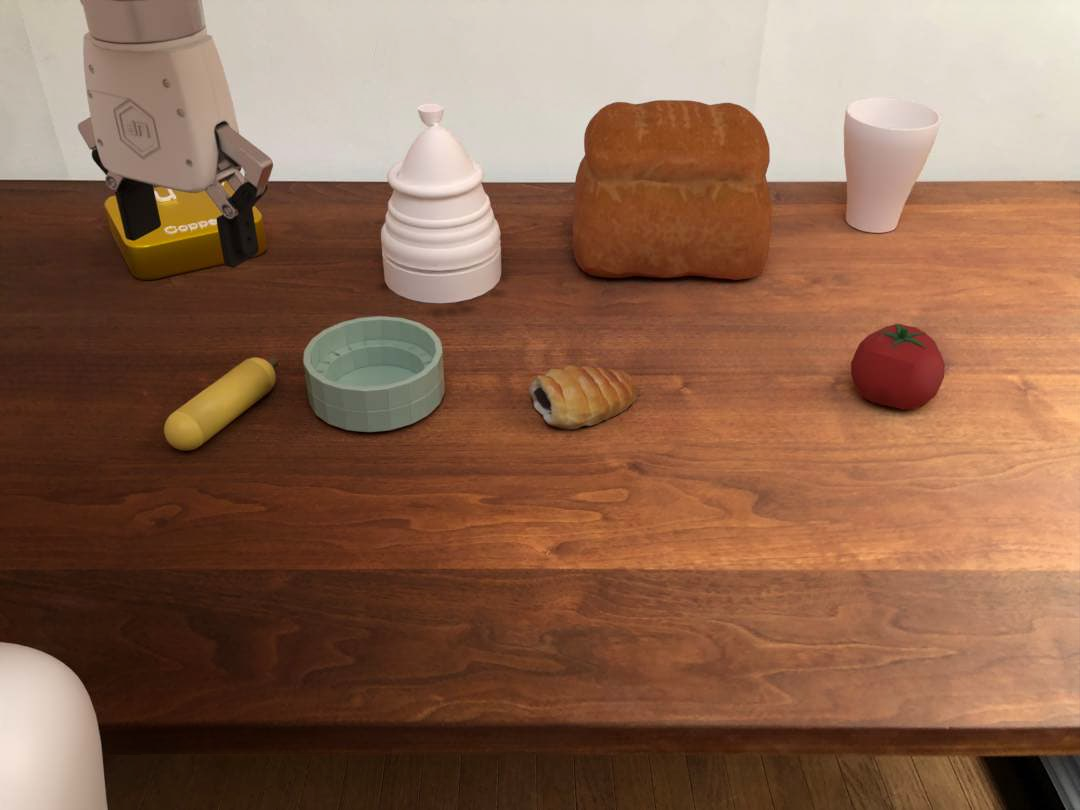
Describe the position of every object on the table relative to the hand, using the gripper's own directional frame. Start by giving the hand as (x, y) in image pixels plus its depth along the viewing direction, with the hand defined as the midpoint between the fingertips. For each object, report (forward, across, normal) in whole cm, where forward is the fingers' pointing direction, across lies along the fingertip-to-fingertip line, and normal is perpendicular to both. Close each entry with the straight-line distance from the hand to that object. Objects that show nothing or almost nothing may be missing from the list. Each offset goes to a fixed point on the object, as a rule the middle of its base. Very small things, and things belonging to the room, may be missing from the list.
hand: (192, 246), depth 80 cm
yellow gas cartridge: (+18, -2, +2) cm, 18 cm away
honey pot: (+18, 0, +34) cm, 39 cm away
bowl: (+19, +7, +12) cm, 23 cm away
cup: (+18, +39, +70) cm, 82 cm away
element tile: (+18, -30, +28) cm, 44 cm away
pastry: (+19, +24, +18) cm, 36 cm away
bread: (+18, +20, +50) cm, 57 cm away
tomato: (+19, +49, +34) cm, 62 cm away
